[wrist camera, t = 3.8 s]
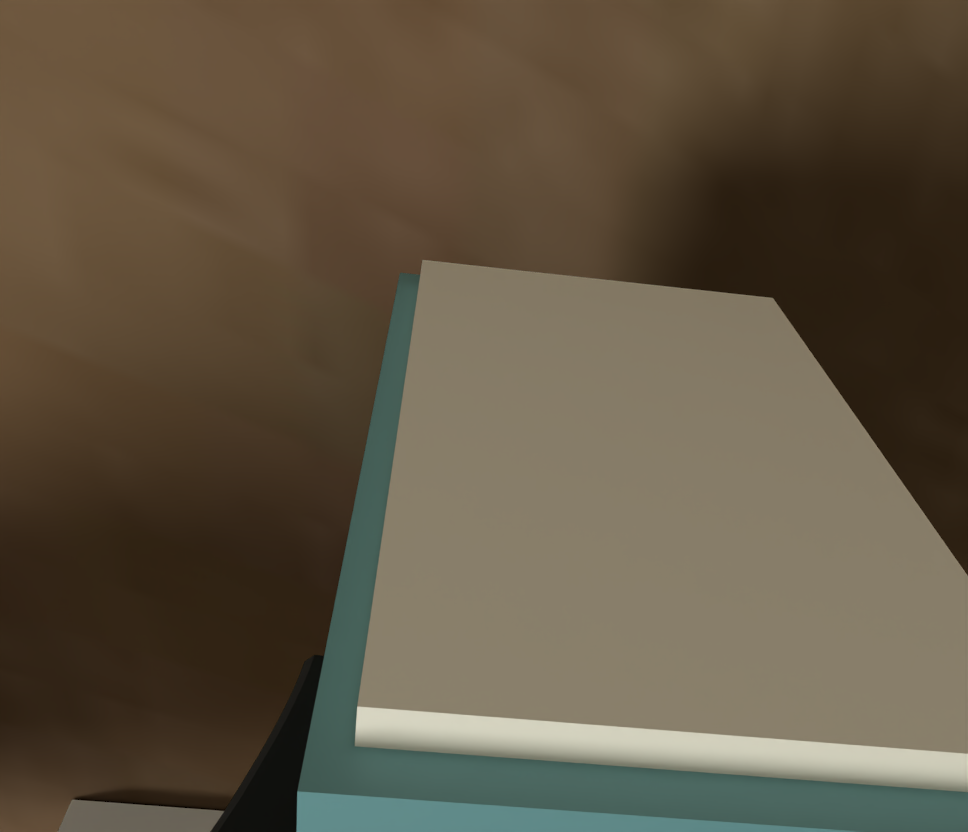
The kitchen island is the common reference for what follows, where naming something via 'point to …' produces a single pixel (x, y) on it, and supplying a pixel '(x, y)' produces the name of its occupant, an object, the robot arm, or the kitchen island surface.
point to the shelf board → (135, 818)
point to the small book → (630, 581)
